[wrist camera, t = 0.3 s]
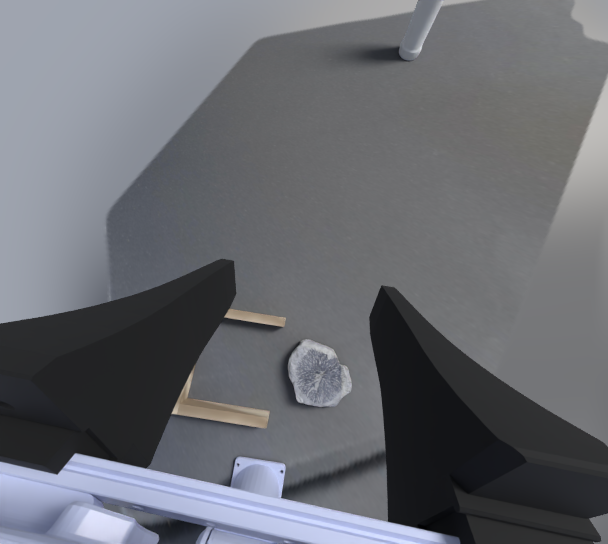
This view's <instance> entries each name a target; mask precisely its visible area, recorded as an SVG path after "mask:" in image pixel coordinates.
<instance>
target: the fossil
mask: <svg viewBox="0 0 608 544" xmlns="http://www.w3.org/2000/svg"><path fill="white" fill-rule="evenodd" d="M288 372H289V378H290V380H291V382H292V384H293V386H294V389H295V393H296V399H297V401H298V402H299V403H303V404H307V405H313V406H319V407H324V406H325V407H326V406H331V407H335V406H336V405H337V404H338V403H339V401H340V400H341V399H342V397H343V396H345V395H346V394H348V393H350V391H351V387H352V382H351V378H350V375H349V369H348V368H347V366H346V365H341V364H340V362H339V360H338V358H337V356H336V354H335V352H334V350H333V349H332V348H329V347H328V346H326V345H322V344H320V343H317V342H314V341H312V340H309V339H307V340H306V339H304V340H302V341H301V342H300V344H299V345H298V347H296V348H295V350H294V351H293V352H292V354H291V356H290V358H289V362H288Z"/></svg>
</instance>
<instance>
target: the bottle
mask: <svg viewBox="0 0 608 544" xmlns="http://www.w3.org/2000/svg"><path fill="white" fill-rule="evenodd" d="M443 1H444V0H418V2H417V5H416V8H415V10H414V13H413V16H412V18H411V21H410V24H409V27H408V29H407V32H406V35H405V37H404V39H403V40H402V42H401V45H400V49H399V55H400V56H401V58H403V59H404V60H408V61H411V60H414V59H416V57H417V56H418V55H419V53H420V51H421V49H422V44H423V42H424V40H425V38H426V36H427V34H428V32H429V30H430V28H431V26H432V24H433V22H434V20H435V17H436V15H437V13H438V11H439V9H440V7H441V5H442V3H443Z"/></svg>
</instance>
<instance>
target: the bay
mask: <svg viewBox="0 0 608 544" xmlns="http://www.w3.org/2000/svg"><path fill="white" fill-rule="evenodd" d="M225 318H231V319H238V320H244V321H250V322H256V323H263V324H269V325H275V326H281V327H284V325H285V319H286V318H283V317H277V316H270V315H264V314H258V313H252V312H246V311H239V310H233V309H229V310H228V312H227V314H226V315H225ZM195 365H196V364H195ZM194 369H195V366H194V368H193V370H192V372H191V374H190V375H189V378H188V380H187V382H186V384H185V386H184V388H183V390H182V392H181V394H180V396H179V398H178V400H177V403H176V405H175V407H174V409H173V412H172V414H177V415H184V416H190V417H196V418H203V419H209V420H215V421H222V422H228V423H234V424H241V425H247V426H253V427H260V428H266V427H267V423H268V418H269V412H270V411H266V410H260V409H254V408H247V407H241V406H235V405H228V404H222V403H216V402H209V401H203V400H197V399H190V398H187V397H188V393H189V389H190V385H191V381H192V377H193V373H194Z"/></svg>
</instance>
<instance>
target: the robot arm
mask: <svg viewBox="0 0 608 544" xmlns="http://www.w3.org/2000/svg"><path fill="white" fill-rule="evenodd" d="M235 295H236V284H235V270H234V261H232V260H226V259H220V260H217V261H215V262H213V263H210V264H208V265H206V266H204V267H202V268H200V269H197V270H195V271H193V272H191V273H189V274H187V275H184V276H182V277H180V278H177V279H175V280H173V281H170V282H168V283H165V284H163V285H161V286H158V287H155V288H152V289H150V290H147V291H144V292H141V293H138V294H135V295H132V296H128V297H125V298H121V299H118V300H114V301H110V302H107V303H103V304H100V305H96V306H91V307H87V308H83V309H78V310H74V311H69V312H64V313H59V314H54V315H49V316H44V317H38V318H32V319H26V320H20V321H14V322H8V323H1V324H0V544H157V543H158V541H159V535H158V534H156V533H154V532H151V531H149V530H147V529H145V528H144V527H142V526H141V525H139V524H138V523H137V521H136V520H135V519H134V518H132V517H128V516H125V515H122V514H119V513H116V512H113V511H110V510H107V509H104V505H103V503H102V502H104V503H108V504H112V505H117V506H121V507H125V508H130V509H134V510H138V511H143V512H147V513H151V514H156V515H160V516H164V517H169V518H173V519H177V520H182V521H186V522H190V523H195V524H199V525H203V526H208V527H206V529H205V530H204V531H203V532H202V533H201V534H200V535H199V537H198V539H197V541H196V544H277V543H279V544H594V543H593V542H600V541H601V537H600V535H599V533H598V532H597V530H596V529H595V527H594V526H593V524H592V523H591V521H590V520H589V518H592V517H596V516H600V515H603V514H607V513H608V447H607V446H606V445H605V444H604V443H603V442H601V441H600V440H598V439H597V438H595V437H593V436H591V435H590V434H588V433H586V432H584V431H583V430H581V429H579V428H577V427H576V426H574V425H572V424H570V423H569V422H567V421H565V420H563V419H562V418H560V417H558V416H557V415H555V414H553V413H551V412H550V411H548V410H546V409H545V408H543V407H541V406H540V405H538V404H537V403H535V402H533V401H532V400H530V399H529V398H527V397H526V396H524V395H522V394H521V393H519V392H518V391H516V390H515V389H513V388H512V387H510V386H509V385H507V384H506V383H504V382H503V381H501V380H500V379H498V378H497V377H496V376H494V375H493V374H491V373H490V372H488V371H487V370H486V369H484V368H483V367H481V366H480V365H479V364H477V363H476V362H475V361H473V360H472V359H471V358H469V357H468V356H467V355H466V354H464V353H463V352H462V351H461V350H459V349H458V348H457V347H456V346H455V345H453V344H452V343H451V342H450V341H449V340H447V339H446V338H445V337H444V336H443V335H442V334H441V333H440V332H439V331H437V330H436V329H435V328H434V327H433V326H432V325H431V324H430V323H429V322H428V321H427V320H426V319H425V318H424V317H423V316H422V315H421V314H420V313H419V312H418V311H417V310H416V309H415V308H414V307H413V306H412V305H411V304H410V303H409V302H408V301H407V300H406V299H405V298H404V296H403V295H402V294H401V293H400V292H399V291H398V290H397V289H395V288H394V287H388V286H382V285H381V288H380V291H379V293H378V296H377V298H376V301H375V304H374V306H373V309H372V312H371V314H370V317H369V318H370V336H371V341H372V346H373V352H374V356H375V361H376V366H377V371H378V376H379V382H380V388H381V396H382V407H383V418H384V431H385V446H386V465H387V494H388V522H386V521H382V520H377V519H373V518H368V517H363V516H359V515H354V514H350V513H345V512H341V511H336V510H332V509H327V508H323V507H318V506H314V505H309V504H304V503H300V502H295V501H291V500H286V499H282V498H281V494H282V488H283V481H284V474H285V464H284V463H278V462H272V461H266V460H259V459H253V458H247V457H240V456H239V457H237V458H236V461H235V466H234V471H233V476H232V481H231V486H230V487H227V486H223V485H218V484H214V483H209V482H204V481H200V480H195V479H191V478H186V477H182V476H177V475H173V474H168V473H164V472H159V471H155V470H150V469H146V468H147V467H148V466H149V465H150V464H151V461H152V459H153V456H154V454H155V451H156V449H157V446H158V444H159V442H160V439H161V437H162V434H163V432H164V430H165V427H166V425H167V423H168V420H169V418H170V416H171V414H172V412H173V409H174V407H175V405H176V403H177V400H178V398H179V396H180V394H181V392H182V390H183V388H184V386H185V384H186V382H187V380H188V378H189V375H190V374H191V372H192V370H193V368H194V366H195V364H196V362H197V360H198V358H199V356H200V354H201V353H202V351H203V349H204V348H205V346H206V345H207V343H208V341H209V340H210V338H211V337H212V335H213V334H214V332H215V331H216V329H217V328H218V326H219V325H220V323H221V321H222V320H223V318H224V317H225V315H226V314H227V312H228V310H229V308H230V306H231V304H232V302H233V300H234V298H235ZM237 463H239V465H237ZM281 470H283V472H281ZM213 528H214V529H213ZM592 541H593V542H592Z"/></svg>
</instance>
